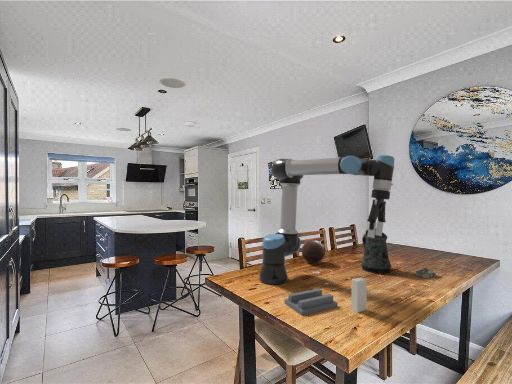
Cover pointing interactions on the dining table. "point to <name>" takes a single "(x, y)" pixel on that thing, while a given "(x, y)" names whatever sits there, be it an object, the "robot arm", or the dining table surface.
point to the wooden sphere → (313, 251)
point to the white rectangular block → (359, 295)
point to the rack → (310, 301)
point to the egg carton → (425, 273)
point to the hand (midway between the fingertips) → (374, 236)
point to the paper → (318, 273)
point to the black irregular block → (375, 254)
